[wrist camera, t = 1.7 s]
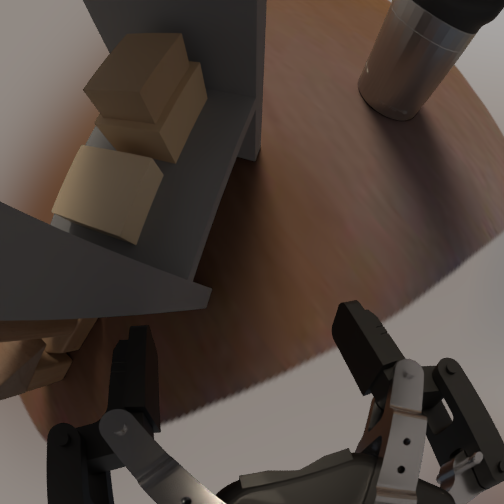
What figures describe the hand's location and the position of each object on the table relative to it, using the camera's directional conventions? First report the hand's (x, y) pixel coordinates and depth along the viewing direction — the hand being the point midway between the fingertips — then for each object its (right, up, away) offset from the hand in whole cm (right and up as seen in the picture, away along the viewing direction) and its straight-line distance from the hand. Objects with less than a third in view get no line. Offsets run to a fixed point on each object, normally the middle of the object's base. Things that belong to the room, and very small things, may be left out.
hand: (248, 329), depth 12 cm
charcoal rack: (-7, +8, +18) cm, 21 cm away
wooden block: (-20, -7, +15) cm, 26 cm away
